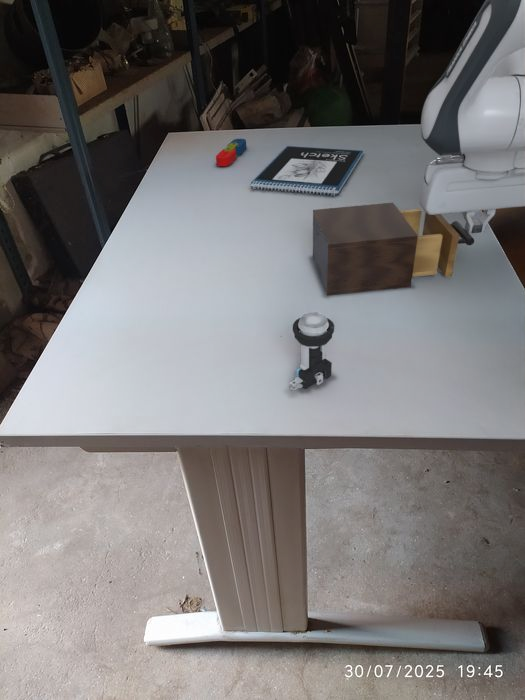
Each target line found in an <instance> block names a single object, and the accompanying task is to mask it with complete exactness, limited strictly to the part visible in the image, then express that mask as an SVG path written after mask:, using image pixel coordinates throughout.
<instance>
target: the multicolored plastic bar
mask: <svg viewBox="0 0 525 700" xmlns="http://www.w3.org/2000/svg"><path fill="white" fill-rule="evenodd" d="M246 149H247V139H246V138H234V139H233V140H231V141H230V143H227V144H226V147H225V148H224V149H222V150H220V151H219V153H217V154H216V155H215V160H216V162H215V163H216V166H218V167H227V166H230V165H231V164H233V163H234V162H235V161H236V160H237V158H238V156H239V155H241V154H243V153H244V151H246Z"/></svg>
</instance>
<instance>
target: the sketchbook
mask: <svg viewBox="0 0 525 700" xmlns="http://www.w3.org/2000/svg"><path fill="white" fill-rule="evenodd" d="M363 155H364V150H361V149H344V148H343V149H342V148H328V147H325V148H324V147H309V146H295V145H294V146H293V145H287V146H286V147H284V149H282V150H281V152H279V154H277V156H275V158H273V160H272V161H271V162H270V163H269V164H268V165H266V167H265V168H263V170H262V171H260V173H258V175H257V176H256V177H254V179H253V180H252V181H251V182H250V187H251V188H252V190H256V189H257V190H261V191H263V189H264V191H266V190H267V191H270V190H271V191H273V190H274V191H275V192H276V191H278V192H280V191H281V192H282V193H283V191H284V192H285V193H287V191H288V193H290V192H291V193H294V192H295V194H297V192H298V193H299V194H301V192H302V194H304V193H305V194H306V195H307V194H308V193H309V194H310V195H311V193H312V195H315V193H316V195H319V194H320V196H322V194H323V196H326V195H327V196H329V195H331V197H335V196H336V195H339V194H340V192H341V191H342V189H343V187H344V186H345V185H346V183H347V181H348V179H349V178H350V176H351V174H352V173H353V171H354V170H355V168H356V167H357V165H358V164H359V162H360V160H361V159H362V157H363Z"/></svg>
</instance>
